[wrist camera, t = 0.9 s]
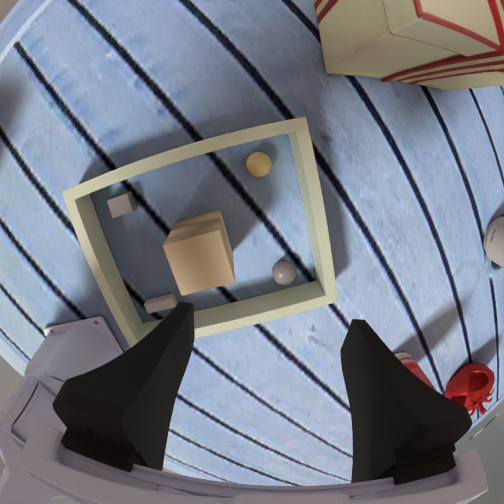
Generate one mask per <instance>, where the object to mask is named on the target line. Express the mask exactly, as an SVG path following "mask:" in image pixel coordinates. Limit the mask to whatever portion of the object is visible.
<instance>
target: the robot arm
mask: <svg viewBox="0 0 504 504" xmlns="http://www.w3.org/2000/svg"><path fill="white" fill-rule="evenodd" d="M96 321H97V322H98V323H97V322H96ZM52 330H53V331H52ZM44 333H45V335H46V339H45V340H44V341H43V343H42V344H41V346H40V347H39V349H38V350H37V351H36V353H35V354H34V356H33V357H32V359H31V360H30V362H29V363H28V365H27V367H26V370H25V376H24V377H23V378H22V379H21V380H20V381H19V382H18V383H17V385H16V386H15V387H14V389H13V390H12V392H11V393H10V395H9V396H8V398H7V399H6V401H5V403H4V404H3V407H2V408H1V411H0V455H1V457H2V459H3V461H4V463H5V465H6V467H5V469H4V471H3V473H2V475H1V477H0V504H49V503H50V501H51V499H53V498H60V497H69V498H71V499H73V500H75V501H77V502H80V503H82V504H466V503H468V502H469V501H471V500H473V499H475V498H476V497H478V496H480V495H481V494H483V493H485V492H486V491H488V485H487V481H486V478H485V474H484V471H483V468H482V465H481V461H480V458H479V455H478V452H477V450H476V449H474V450H471V451H469V452H466V453H463V454H460V455H458V456H456V457H454V456H453V452H454V451H455V450H456V449H455V445H454V444H455V443H456V442H457V441H458V440H459V439H460V438H461V437H462V436H463V435H464V434H466V432H467V431H468V430H469V429H470V427H471V425H472V420H471V418H470V415H469V413H468V410H467V408H466V407H465V406H463V405H461V404H459V403H457V402H454V401H452V400H450V399H449V398H447V397H445V396H444V395H442V394H440V393H439V392H437V391H436V390H434V389H433V388H431V387H430V386H429V385H427V384H426V383H424V382H423V381H422V380H421V379H419V378H418V377H417V376H416V375H415V374H414V373H412V372H411V371H410V370H409V369H408V368H407V367H406V366H405V365H404V364H403V363H402V362H401V361H400V360H399V359H398V358H397V357H396V356H395V355H394V354H393V353H392V352H391V350H390V349H389V348H388V347H387V346H386V345H385V344H384V342H383V341H382V340H381V339H380V338H379V336H378V335H377V334H376V333H375V332H374V330H373V329H372V328H371V327H370V326H369V324H368V323H367V322H366V321H365V320H358V319H352V322H351V324H350V327H349V330H348V332H347V335H346V337H345V340H344V343H343V345H342V348H341V350H340V351H341V364H342V371H343V376H344V381H345V385H346V390H347V395H348V399H349V404H350V409H351V417H352V431H353V467H352V481H351V483H348V484H337V485H322V486H262V485H247V484H236V483H227V482H219V481H211V480H205V479H199V478H193V477H187V476H182V475H177V474H172V473H168V472H164V471H162V469H163V461H164V454H165V448H166V442H167V436H168V431H169V426H170V421H171V416H172V412H173V407H174V403H175V399H176V396H177V393H178V390H179V387H180V384H181V381H182V379H183V376H184V373H185V370H186V367H187V365H188V362H189V359H190V356H191V352H192V347H193V343H194V338H195V329H194V304H192V303H185V302H180V303H178V304H177V305H176V306H175V308H174V309H173V310H172V311H171V312H170V313H169V314H168V315H167V316H166V317H165V318H164V319H163V320H162V321H161V322H160V323H159V324H158V325H157V326H156V327H155V328H154V329H153V330H152V331H151V332H149V333H148V334H147V335H146V336H145V337H144V338H143V339H141V340H140V341H139V342H138V343H136V344H135V345H134V346H132V347H131V348H130V349H128V350H127V351H126V352H124V353H123V351H122V349H121V348H120V346H119V344H118V343H117V341H116V339H115V337H114V336H113V334H112V332H111V330H110V328H109V327H108V325H107V323H106V321H105V319H104V318H103V317H101V316H98V317H93V318H89V319H84V320H79V321H75V322H70V323H65V324H60V325H55V326H50V327H46V328H45V329H44ZM11 433H13V434H14V435H15V436H16V437H18V438H19V439H20V440H21V441H23V442H24V443H25V446H23V445H22V444H21V443H19V442H18V441H17V440H16V439H15V438H14V437H12V434H11Z"/></svg>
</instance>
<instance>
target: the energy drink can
mask: <svg viewBox="0 0 504 504" xmlns="http://www.w3.org/2000/svg"><path fill="white" fill-rule="evenodd" d="M484 249H485V251H486V254H487V256H488V258H489V259H490V260H492V261H493V262H495V263H497V264H498V265H500V266H501V267H503V268H504V217H499V218H498V219H494V220H493V221H492V222H491V223H490V224H489V225H488V227H487V229H486V232H485V235H484Z"/></svg>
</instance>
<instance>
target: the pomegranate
mask: <svg viewBox="0 0 504 504" xmlns="http://www.w3.org/2000/svg"><path fill="white" fill-rule="evenodd" d="M494 380H495V377H494V373H493V371H492V370H490V369H489V368H488V367H487V366H486V365H484V364H482V363H470V364H467V365H465V366H464V367H462V368H461V369H460V370H459V371H458V372H457V374H456V375H455V376H454V377H453V378H452V379H451V380H450V382H449V383H448V385H447V387H446V391H445V397H447V398H449V399H450V400H452V401H454V402H457V403H459V404H461V405H463V406H465V407H466V408H467V410H468V411H470V410H472V413H471V414H470V416H471V415H473V414H474V412H475V410H476V407H478V408H479V413H481V414H484V413H485V411H486V409H485V408H484V407H483V405H482V403H483V402H490V401H491V400H492V398H491V399H490V400H488V399H487V397H489V396H491V395H492V393H493V391H494V389H493V391H492V393H491V394H490V391H491V390H492V387H493V384H494Z"/></svg>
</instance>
